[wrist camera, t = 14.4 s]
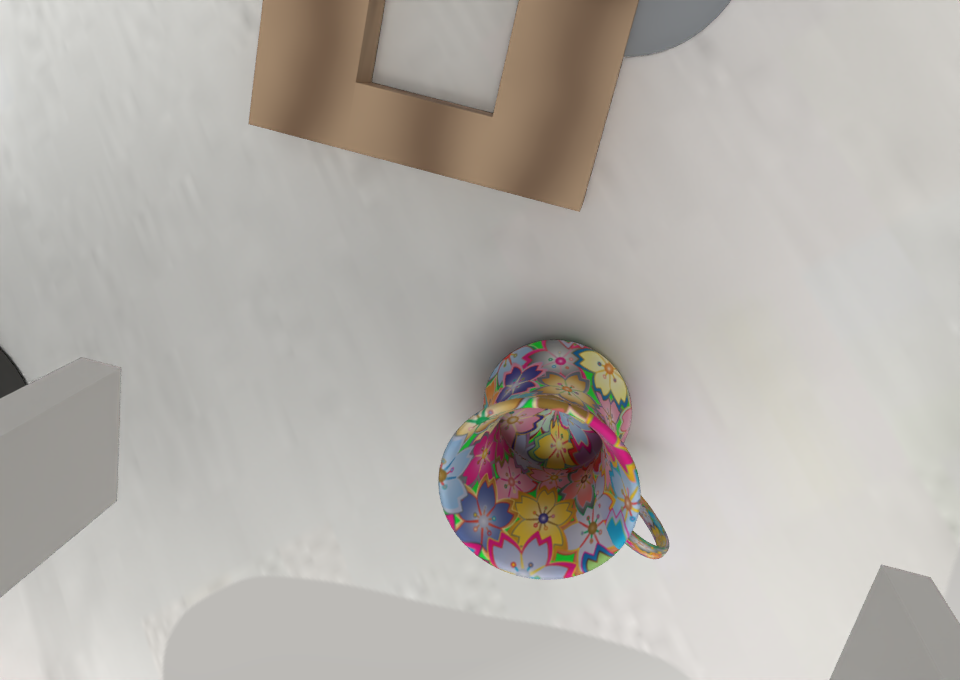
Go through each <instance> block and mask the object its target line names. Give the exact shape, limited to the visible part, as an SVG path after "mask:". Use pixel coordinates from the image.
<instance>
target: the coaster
mask: <svg viewBox="0 0 960 680" xmlns="http://www.w3.org/2000/svg"><path fill="white" fill-rule="evenodd" d="M730 1H731V0H639V3H638V6H637V10H636V13H635V17H634V21H633V24H632V28H631V31H630V35H629V39H628V42H627V46H626V49H625V53H624V57H635V56H644V55H650V54H654V53H658V52H662V51H665V50H667V49H670V48H673V47H675V46H677V45H679V44H681V43H683V42H685V41H687V40H688V39H690V38H692V37H693V36H695V35H696V34H697V33H699V32H700V31H702V30H703V29H704V28H705V27H707V26H708V25H709V24H710V23H711V22H712V21H713V20H714V19H715V18H716V17H717V16H718V15H719V14H720V13H721V12H722V11H723V10H724V8H725V7H726V6H727V5H728V4H729V2H730Z"/></svg>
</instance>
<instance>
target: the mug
mask: <svg viewBox="0 0 960 680" xmlns="http://www.w3.org/2000/svg"><path fill="white" fill-rule="evenodd" d="M483 406H484V409H483V410H481V411H479V412H478V413H476V414H475V415H473V416H472V417H471V418H469V419H468V420H467V421H466V422H465V423H464V424H463V425H462V426H461V427H460V428H459V429H458V430H457V431H456V433H455V434H454V435H453V437H452V438H451V440H450V441H449V443H448V445H447V447H446V449H445V451H444V454H443V457H442V460H441V464H440V470H439V494H440V499H441V503H442V507H443V510H444V513H445V515H446V517H447V520H448V521H449V523H450V525H451V527H452V529H453V530H454V532H455V533H456V535H457V536H458V537H459V538H460V540H461V541H462V542H463V543H464V544H465V545H466V546H467V547H468V548H469V549H470V550H471V551H472V552H473V553H475V554H476V555H477V556H478V557H480V558H481V559H482V560H484V561H486V562H487V563H489V564H491V565H492V566H494V567H496V568H498V569H500V570H503V571H505V572H508V573H511V574H514V575H517V576H521V577H526V578H532V579H544V580H550V579H563V578H568V577H573V576H577V575H580V574H583V573H586V572H588V571H591V570H593V569H595V568H596V567H598V566H600V565H602V564H603V563H605V562H606V561H607V560H609V559H610V558H611V557H612V556H614V555H615V554H616V553H617V552H618V551H619V550H620V548H621V547H622V546H623V545H624V543H625V544H627V545H628V546H629V547H630V548H631V549H633V550H634V551H636V552H637V553H639V554H641V555H643V556H645V557H648V558H651V559H659V558H661V557H663V556H664V555H665V554H666V552H667V551H668V549H669V539H668V536H667V534H666V532H665V530H664V528H663V526H662V524H661V522H660V521H659V519H658V518H657V516H656V514H655V513H654V512H653V510H652V509H651V507H650V506H649V505H648V503H647V502H646V501H645V500H644V498H643V497H642V496H641V495H640V482H639V477H638V473H637V470H636V467H635V464H634V461H633V459H632V457H631V455H630V453H629V452H628V450H627V448H626V447H625V445H624V444H623V442H624V441H625V438H626V436H627V434H628V431H629V428H630V423H631V416H632V407H631V400H630V395H629V392H628V389H627V386H626V384H625V382H624V380H623V378H622V377H621V375H620V374H619V372H618V371H617V370H616V368H615V367H614V366H613V365H612V364H611V363H610V362H609V361H608V360H607V359H606V358H605V357H603V356H602V355H601V354H599V353H598V352H596V351H594V350H593V349H591V348H589V347H587V346H584V345H582V344H579V343H575V342H571V341H566V340H543V341H538V342H534V343H530V344H527V345H525V346H523V347H521V348H519V349H517V350H515V351H513V352H512V353H510V354H509V355H508V356H507V357H505V358H504V359H503V360H502V361H501V362H500V363H499V364H498V366H497V367H496V368H495V370H494V371H493V373H492V374H491V376H490V378H489V380H488V383H487V386H486V389H485V394H484V405H483ZM638 514H639V515H640V516H641V518H642V519H643V521H644V522H645V524H646V525H647V527H648V528H649V530H650V532H651V534H652V535H653V537H654V540H655V542H656V545H657V546H655V545H653V544H651V543H649V542H647V541H645V540H644V539H642V538H641V537H640V536H639V535H637V534H636V533H635V532H634V531H633V528H634V526H635V524H636V521H637V518H638Z"/></svg>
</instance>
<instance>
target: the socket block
mask: <svg viewBox="0 0 960 680" xmlns="http://www.w3.org/2000/svg"><path fill="white" fill-rule="evenodd" d="M638 3H639V0H519V2H518V7H517V11H516V15H515V20H514V24H513V29H512V33H511V38H510V42H509V46H508V51H507V55H506V60H505V64H504V68H503V73H502V77H501V82H500V86H499V90H498V95H497V99H496V104H495V108H494V112H493V113H490V112H486V111H482V110H478V109H474V108H470V107H466V106H462V105H459V104H455V103H451V102H447V101H443V100H439V99H435V98H431V97H427V96H423V95H419V94H415V93H411V92H408V91H404V90H400V89H396V88H392V87H388V86H384V85H380V84H376V83H372V76H373V70H374V64H375V58H376V52H377V46H378V41H379V35H380V29H381V23H382V17H383V11H384V5H385V0H263V5H262V14H261V22H260V31H259V39H258V48H257V56H256V65H255V73H254V82H253V90H252V99H251V107H250V116H249V124H251V125H254V126H258V127H262V128H266V129H270V130H273V131H277V132H281V133H285V134H288V135H292V136H296V137H300V138H304V139H307V140H311V141H315V142H319V143H322V144H326V145H330V146H334V147H338V148H341V149H345V150H349V151H353V152H356V153H360V154H364V155H368V156H371V157H375V158H379V159H383V160H387V161H390V162H394V163H398V164H402V165H405V166H409V167H413V168H417V169H421V170H424V171H428V172H432V173H436V174H439V175H443V176H447V177H451V178H454V179H458V180H462V181H466V182H470V183H473V184H477V185H481V186H485V187H488V188H492V189H496V190H500V191H504V192H507V193H511V194H515V195H519V196H522V197H526V198H530V199H534V200H538V201H541V202H545V203H549V204H553V205H556V206H560V207H564V208H568V209H571V210H575V211H579V212H580V209H581V207H582V205H583V201H584V198H585V194H586V190H587V187H588V183H589V180H590V176H591V172H592V169H593V165H594V162H595V158H596V155H597V151H598V147H599V144H600V140H601V137H602V133H603V129H604V126H605V122H606V119H607V115H608V111H609V108H610V104H611V101H612V97H613V93H614V90H615V86H616V83H617V79H618V76H619V72H620V68H621V65H622V61H623V58H624V53H625V49H626V46H627V42H628V39H629V35H630V31H631V28H632V24H633V21H634V17H635V13H636V10H637V6H638Z"/></svg>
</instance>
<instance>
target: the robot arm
mask: <svg viewBox="0 0 960 680" xmlns="http://www.w3.org/2000/svg"><path fill="white" fill-rule="evenodd" d="M120 393H121V367H117V366H113V365H109V364H105V363H102V362H98V361H94V360H90V359H86V358H82V357H81V358H79V359H77V360H75V361H73V362H71V363H69V364H67V365H65V366H63V367H61V368H59V369H57V370H55V371H54V372H52V373H50V374H48V375H46V376H44V377H42V378H40V379H38V380H36V381H34V382H32V383H30V384H28V385H25V383H24V381H23V379H22V378H21V376H20V374H19V373H18V371H17V370H16V368H15V367H14V365H13V364H12V363H11V361H10V360H9V359H8V358H7V356H6V355H5V354H4V353H3V352H2V351H1V350H0V597H2V596H3V595H4V594H5V593H6V592H8V591H9V590H10V589H11V588H12V587H14V586H15V585H16V584H17V583H19V582H20V581H21V580H22V579H23V578H25V577H26V576H27V575H28V574H29V573H31V572H32V571H33V570H34V569H35V568H37V567H38V566H39V565H40V564H41V563H43V562H44V561H45V560H46V559H47V558H49V557H50V556H51V555H52V554H53V553H55V552H56V551H57V550H58V549H59V548H61V547H62V546H63V545H64V544H65V543H67V542H68V541H69V540H70V539H71V538H73V537H74V536H75V535H76V534H78V533H79V532H80V531H81V530H82V529H84V528H85V527H86V526H87V525H88V524H90V523H91V522H92V521H93V520H94V519H96V518H97V517H98V516H99V515H100V514H102V513H103V512H104V511H105V510H106V509H108V508H109V507H110V506H111V505H112V504H114V503H115V502H116V501H117V488H118V456H119V424H120ZM830 680H960V623H959V622H958V620H957V619H956V617H955V615H954V614H953V612H952V611H951V609H950V607H949V606H948V604H947V603H946V601H945V599H944V598H943V596H942V595H941V593H940V592H939V590H938V588H937V587H936V585H935V584H934V582H933V580H932V579H931V577H927V576H923V575H920V574H916V573H912V572H908V571H904V570H900V569H896V568H893V567H889V566H885V565H881V566H880V569H879V571H878V573H877V575H876V578H875V580H874V582H873V584H872V586H871V589H870V591H869V593H868V595H867V598H866V600H865V602H864V604H863V606H862V609H861V611H860V613H859V615H858V618H857V620H856V622H855V624H854V626H853V629H852V631H851V633H850V635H849V638H848V640H847V642H846V644H845V647H844V649H843V651H842V653H841V655H840V658H839V660H838V662H837V664H836V667H835V669H834V671H833V673H832V675H831V678H830Z"/></svg>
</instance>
